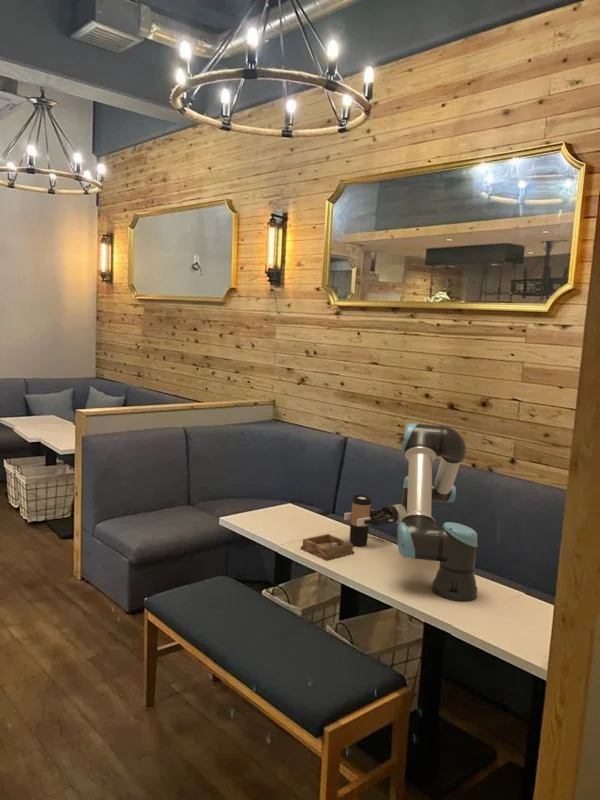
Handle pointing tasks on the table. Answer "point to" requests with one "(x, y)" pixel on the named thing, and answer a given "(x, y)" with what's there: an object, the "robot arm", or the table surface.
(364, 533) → the travel mug
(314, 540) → the tray
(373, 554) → the table surface
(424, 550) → the robot arm
